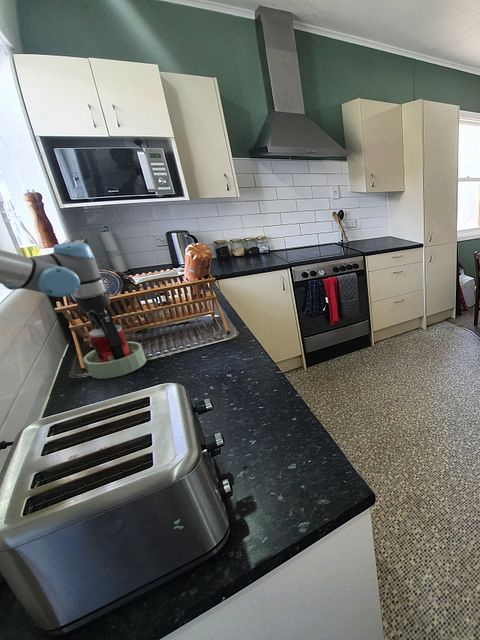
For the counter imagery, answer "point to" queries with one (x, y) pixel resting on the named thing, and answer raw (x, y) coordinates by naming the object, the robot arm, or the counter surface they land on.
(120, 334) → the canned food
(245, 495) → the counter surface
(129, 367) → the bowl
